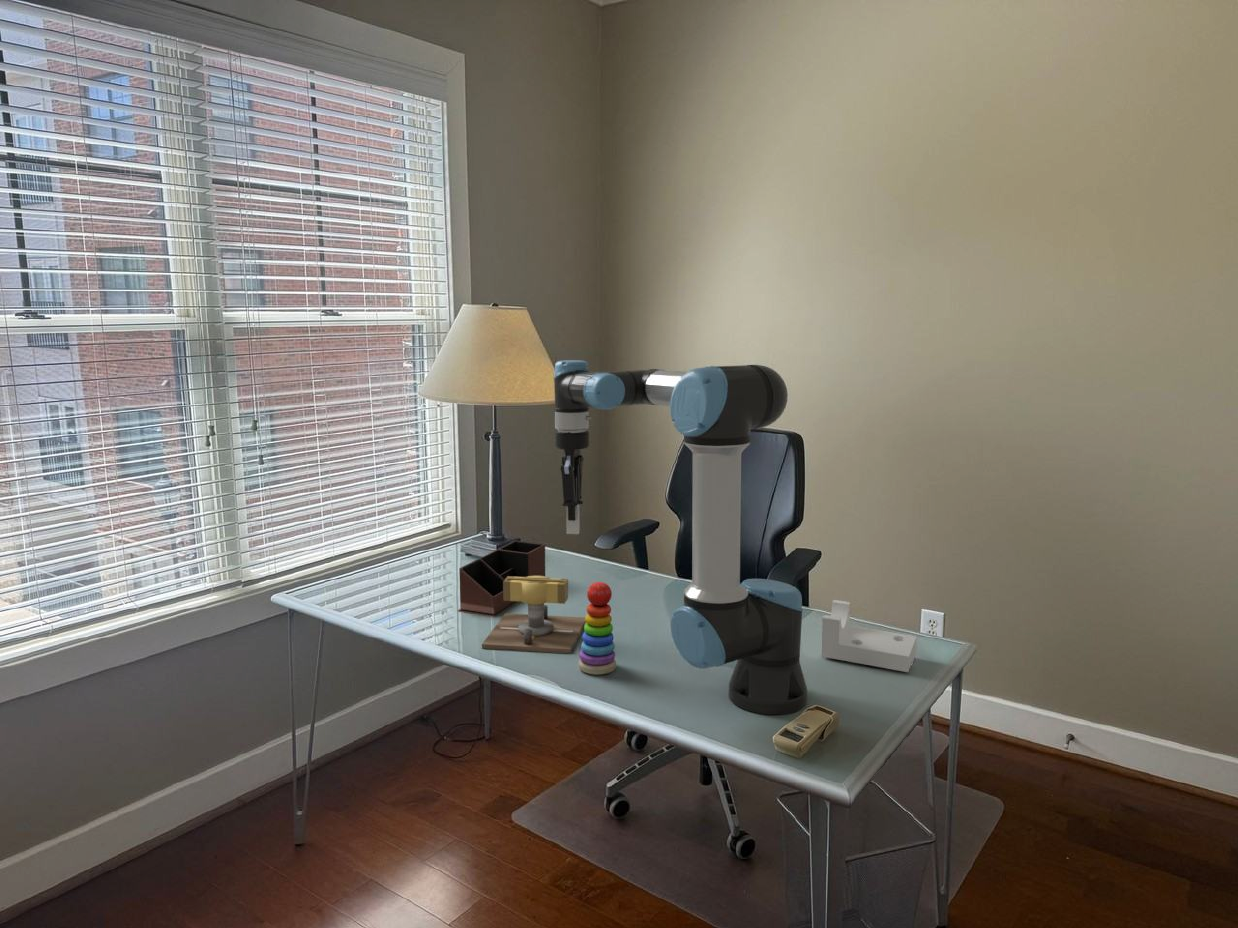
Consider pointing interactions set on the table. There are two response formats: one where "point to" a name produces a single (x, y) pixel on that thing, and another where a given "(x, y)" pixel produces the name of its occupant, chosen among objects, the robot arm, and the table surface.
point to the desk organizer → (498, 576)
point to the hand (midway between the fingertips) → (573, 533)
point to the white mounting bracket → (864, 642)
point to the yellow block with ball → (535, 589)
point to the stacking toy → (598, 633)
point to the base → (535, 631)
